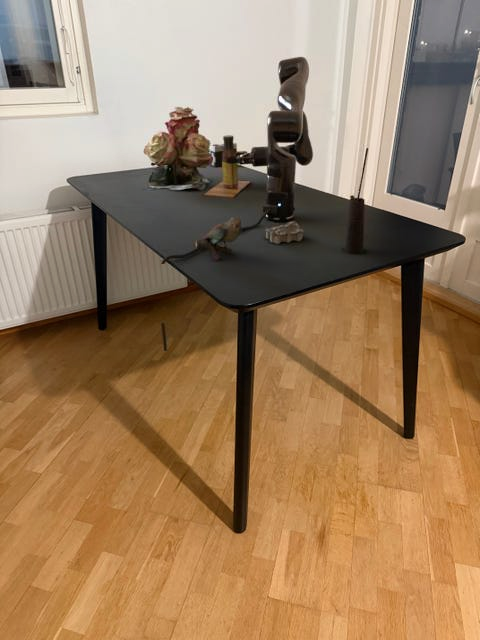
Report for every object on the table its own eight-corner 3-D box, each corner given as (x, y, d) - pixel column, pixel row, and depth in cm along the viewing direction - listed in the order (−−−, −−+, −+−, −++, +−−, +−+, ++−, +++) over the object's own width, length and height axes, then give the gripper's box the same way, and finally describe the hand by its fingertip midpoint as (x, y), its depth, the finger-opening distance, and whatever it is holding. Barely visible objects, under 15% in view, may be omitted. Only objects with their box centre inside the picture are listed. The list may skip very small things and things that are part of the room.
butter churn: (330, 243, 136) (340, 143, 122) (362, 242, 136) (375, 142, 122) (338, 255, 128) (349, 149, 114) (372, 254, 129) (387, 148, 114)
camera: (227, 160, 239) (226, 140, 234) (237, 163, 233) (237, 142, 228) (205, 164, 231) (204, 143, 226) (215, 167, 226) (215, 145, 221)
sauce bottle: (235, 184, 195) (234, 134, 185) (240, 188, 189) (239, 136, 179) (220, 186, 193) (219, 135, 183) (225, 189, 188) (223, 137, 178)
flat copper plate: (233, 197, 179) (233, 196, 179) (204, 195, 182) (204, 194, 182) (250, 182, 199) (250, 181, 199) (223, 181, 202) (223, 179, 202)
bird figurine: (179, 245, 133) (197, 193, 117) (208, 239, 138) (228, 188, 123) (202, 281, 129) (223, 232, 113) (230, 273, 134) (254, 224, 118)
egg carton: (296, 233, 144) (297, 220, 142) (305, 241, 138) (306, 228, 136) (263, 236, 142) (263, 223, 140) (271, 244, 135) (272, 231, 133)
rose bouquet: (141, 190, 190) (132, 110, 175) (172, 174, 214) (167, 102, 199) (198, 195, 183) (194, 112, 168) (224, 178, 207) (223, 104, 191)
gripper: (268, 169, 184) (228, 172, 181) (259, 162, 196) (221, 164, 193) (269, 149, 180) (228, 151, 177) (259, 143, 192) (221, 145, 189)
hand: (224, 158), depth 185 cm, fingers open, 8 cm apart
